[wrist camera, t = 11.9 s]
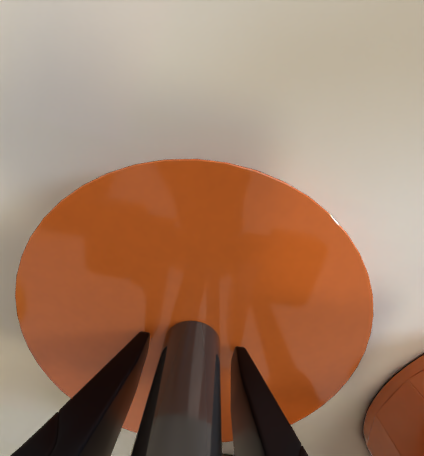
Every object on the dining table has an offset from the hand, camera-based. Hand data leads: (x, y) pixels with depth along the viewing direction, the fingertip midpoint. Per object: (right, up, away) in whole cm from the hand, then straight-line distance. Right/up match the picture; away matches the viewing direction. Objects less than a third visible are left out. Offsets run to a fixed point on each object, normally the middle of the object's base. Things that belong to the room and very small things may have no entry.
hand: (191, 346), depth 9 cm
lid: (0, 0, +1) cm, 1 cm away
